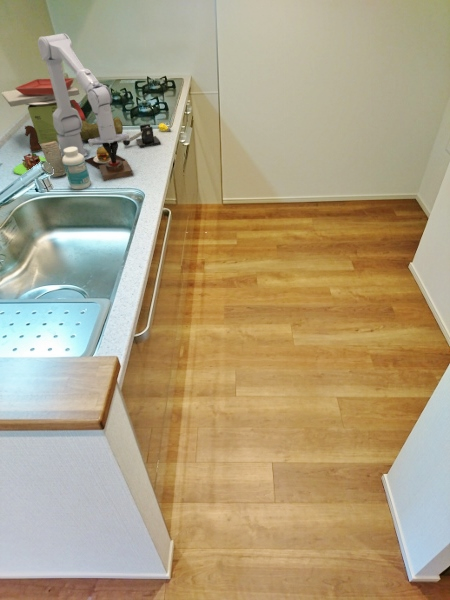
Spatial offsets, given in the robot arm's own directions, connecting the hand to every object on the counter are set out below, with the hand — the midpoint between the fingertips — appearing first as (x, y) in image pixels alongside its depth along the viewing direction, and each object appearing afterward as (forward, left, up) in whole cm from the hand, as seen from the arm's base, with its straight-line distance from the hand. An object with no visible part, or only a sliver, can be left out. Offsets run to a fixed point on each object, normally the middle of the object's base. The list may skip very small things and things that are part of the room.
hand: (113, 162), depth 151 cm
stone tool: (+2, +42, +2) cm, 42 cm away
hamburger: (-2, +14, -5) cm, 15 cm away
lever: (+15, +25, -2) cm, 29 cm away
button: (0, 0, -2) cm, 2 cm away
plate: (-18, +50, +11) cm, 54 cm away
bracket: (+19, +25, -4) cm, 32 cm away
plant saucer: (-16, +49, +15) cm, 54 cm away
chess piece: (-27, +38, -4) cm, 47 cm away
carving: (-21, +7, -4) cm, 22 cm away
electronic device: (-19, +53, +13) cm, 58 cm away
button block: (0, 0, -4) cm, 4 cm away
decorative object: (-6, +45, +2) cm, 45 cm away
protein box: (-18, +49, -4) cm, 52 cm away
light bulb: (+29, +35, -3) cm, 45 cm away
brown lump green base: (-28, +19, -4) cm, 34 cm away
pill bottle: (-14, -5, -5) cm, 16 cm away
